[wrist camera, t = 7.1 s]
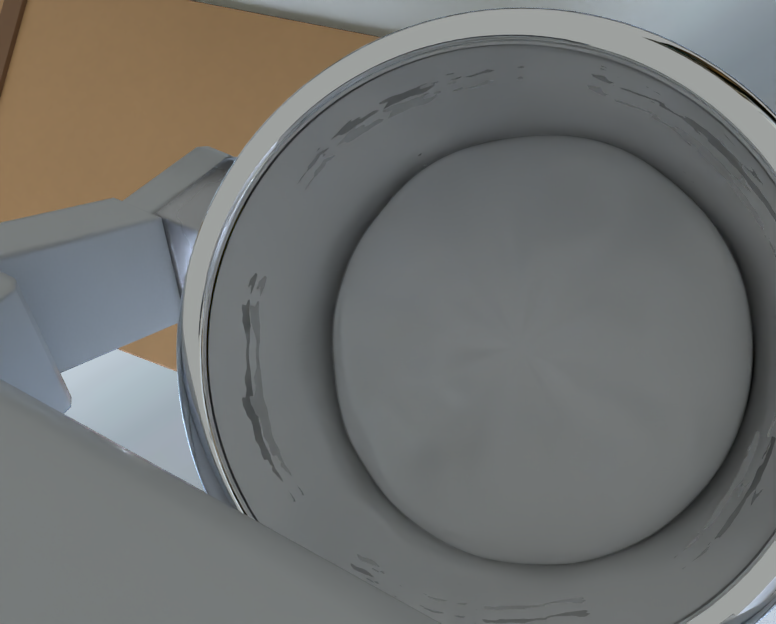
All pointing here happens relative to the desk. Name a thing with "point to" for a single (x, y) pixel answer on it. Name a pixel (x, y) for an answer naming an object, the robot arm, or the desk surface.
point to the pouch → (138, 97)
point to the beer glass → (501, 325)
